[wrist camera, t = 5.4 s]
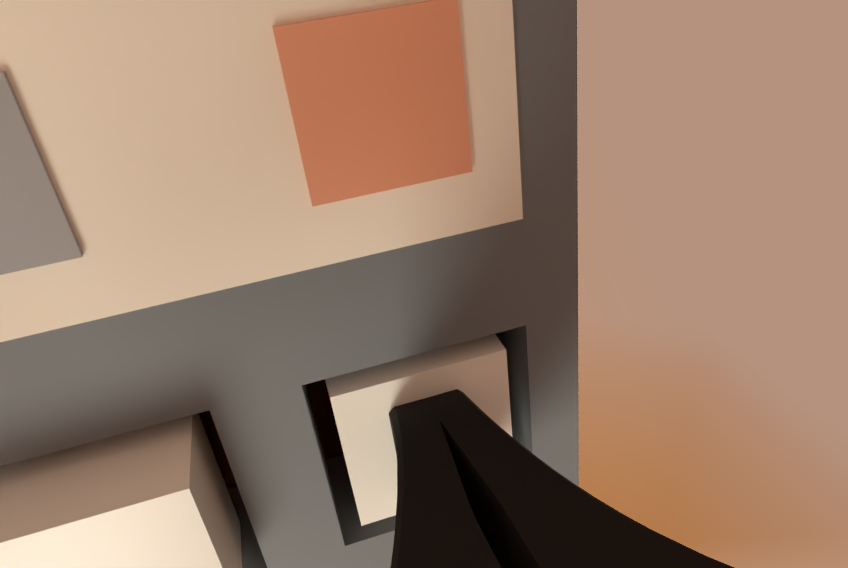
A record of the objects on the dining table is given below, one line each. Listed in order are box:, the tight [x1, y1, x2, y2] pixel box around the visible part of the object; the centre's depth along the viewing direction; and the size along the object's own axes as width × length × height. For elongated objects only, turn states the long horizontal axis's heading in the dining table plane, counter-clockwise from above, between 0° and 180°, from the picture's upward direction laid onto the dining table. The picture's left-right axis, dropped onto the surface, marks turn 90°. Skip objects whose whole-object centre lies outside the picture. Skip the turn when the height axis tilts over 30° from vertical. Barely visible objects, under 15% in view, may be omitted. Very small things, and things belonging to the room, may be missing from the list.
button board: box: [0, 0, 579, 568], centre depth 11 cm, size 17×14×3 cm
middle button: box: [0, 413, 242, 568], centre depth 11 cm, size 3×3×2 cm
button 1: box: [325, 334, 512, 526], centre depth 13 cm, size 3×3×2 cm
